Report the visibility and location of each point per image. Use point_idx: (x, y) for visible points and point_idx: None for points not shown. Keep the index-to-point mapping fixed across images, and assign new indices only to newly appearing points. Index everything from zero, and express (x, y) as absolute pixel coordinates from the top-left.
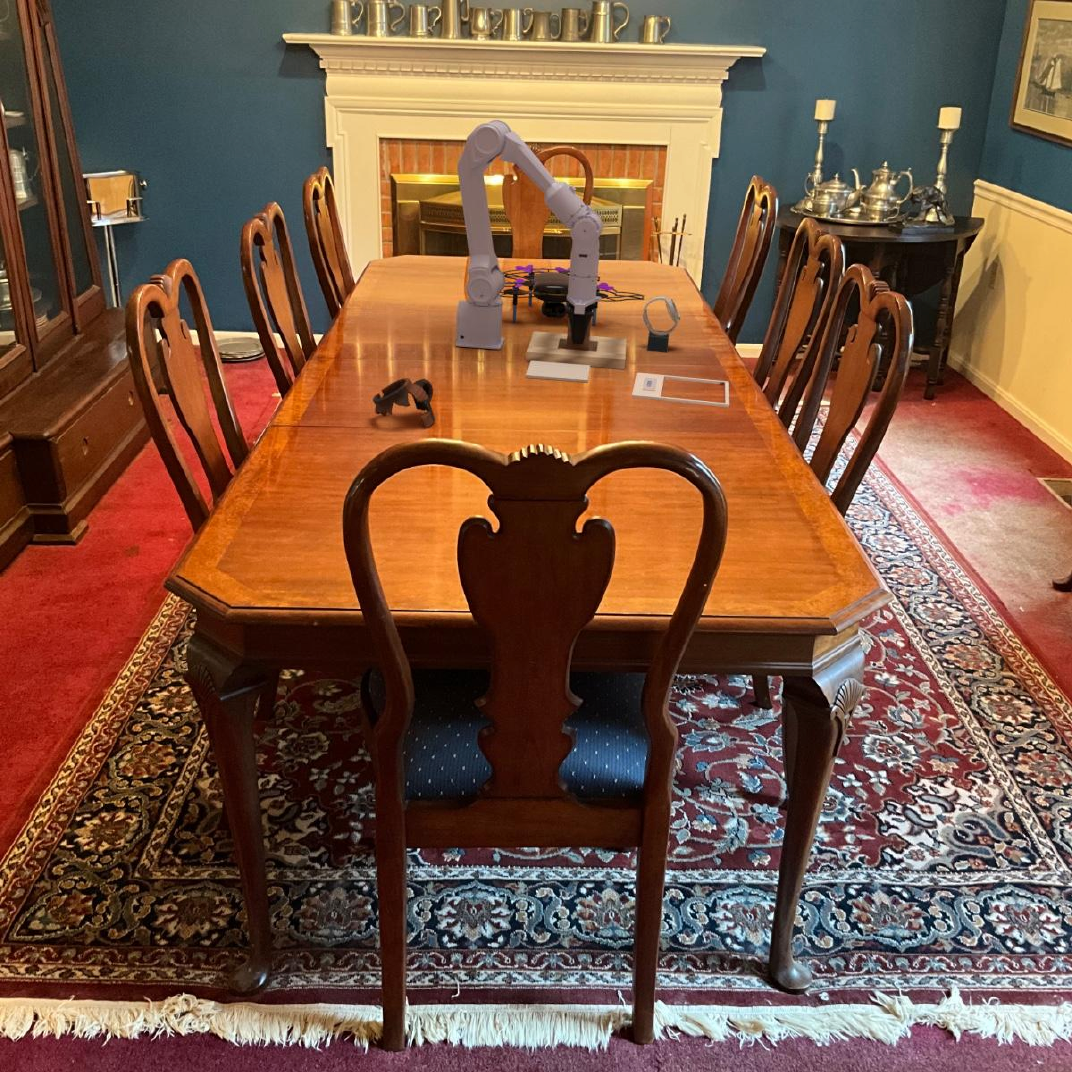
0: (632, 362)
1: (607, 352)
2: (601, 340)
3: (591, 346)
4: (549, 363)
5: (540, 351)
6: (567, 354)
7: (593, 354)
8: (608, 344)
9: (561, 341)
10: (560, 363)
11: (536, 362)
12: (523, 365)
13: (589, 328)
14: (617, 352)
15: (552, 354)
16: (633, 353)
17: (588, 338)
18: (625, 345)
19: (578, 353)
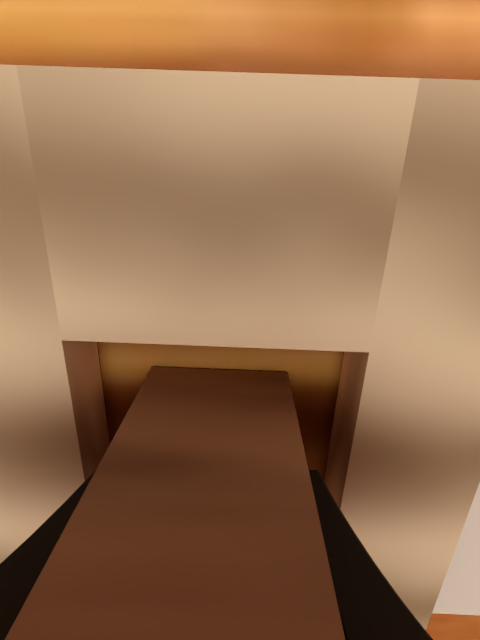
0: (334, 24)
1: (380, 266)
2: (21, 313)
3: (88, 362)
4: (471, 551)
5: None
6: (456, 520)
7: (448, 373)
8: (121, 255)
9: None
10: (471, 509)
11: (455, 594)
12: (455, 618)
13: (325, 564)
14: (370, 171)
15: (439, 578)
16: (46, 6)
17: (306, 469)
18: (89, 76)
19: (429, 464)
